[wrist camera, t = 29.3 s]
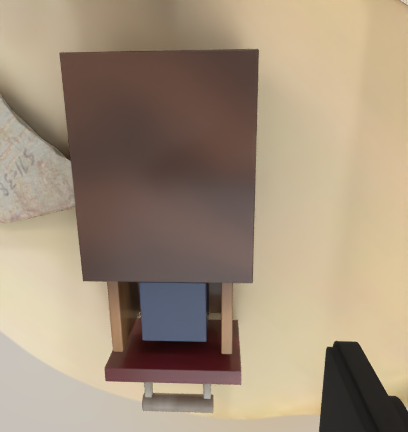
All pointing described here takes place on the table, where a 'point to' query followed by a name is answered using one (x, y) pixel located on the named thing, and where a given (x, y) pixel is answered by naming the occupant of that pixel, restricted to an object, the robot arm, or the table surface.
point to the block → (174, 311)
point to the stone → (30, 171)
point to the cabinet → (163, 163)
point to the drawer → (173, 351)
